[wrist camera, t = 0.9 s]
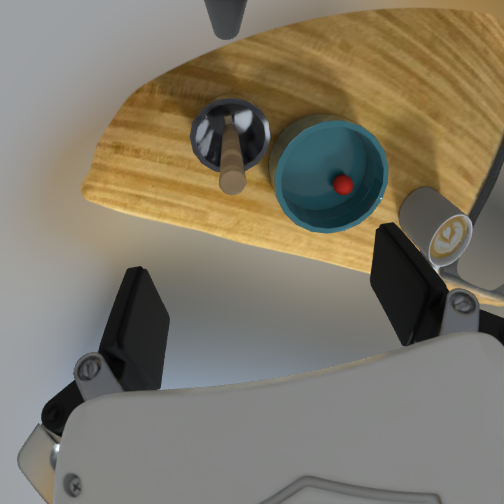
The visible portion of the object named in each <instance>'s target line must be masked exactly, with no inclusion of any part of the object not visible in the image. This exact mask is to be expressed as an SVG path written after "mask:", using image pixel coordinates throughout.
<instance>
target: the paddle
mask: <svg viewBox="0 0 504 504" xmlns="http://www.w3.org/2000/svg"><path fill="white" fill-rule="evenodd" d="M224 119H225V125H226V126H225V127H224V129H223V138H222V150H221V163H220V177H219V186H220V188H221V190H222V191H223V192H224V193H226V194H229V195H236V194H239V193H241V192H242V191H243V190H244V189H245V187H246V176H245V171H244V165H243V159H242V154H241V148H240V143H239V137H238V132H237V128H236V126H235V125H233V121H232V116H231V111H226V112H225V113H224Z"/></svg>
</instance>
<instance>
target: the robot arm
mask: <svg viewBox="0 0 504 504" xmlns="http://www.w3.org/2000/svg"><path fill="white" fill-rule="evenodd" d="M370 283H371V286H372V288H373V290H374V292H375V294H376V296H377V298H378V299H379V301H380V303H381V305H382V307H383V309H384V311H385V312H386V314H387V316H388V318H389V320H390V322H391V324H392V326H393V328H394V330H395V332H396V334H397V336H398V338H399V340H400V342H401V344H402V345H403V346H406V347H403V348H400V349H396V350H393V351H389V352H386V353H383V354H379V355H376V356H372V357H369V358H365V359H361V360H357V361H354V362H349V363H346V364H342V365H337V366H333V367H328V368H324V369H319V370H315V371H310V372H305V373H300V374H295V375H289V376H285V377H278V378H272V379H266V380H259V381H252V382H245V383H237V384H229V385H220V386H211V387H210V386H209V387H199V388H185V389H171V390H170V389H168V390H157V389H160V388H161V381H162V373H163V365H164V358H165V350H166V343H167V336H168V330H169V323H170V318H169V314H168V312H167V310H166V308H165V306H164V304H163V302H162V300H161V298H160V296H159V294H158V292H157V290H156V288H155V286H154V283H153V281H152V279H151V277H150V275H149V273H148V271H147V270H146V269H143V268H142V267H141V266H139V267H133V268H128V269H127V271H126V273H125V276H124V278H123V281H122V283H121V286H120V289H119V291H118V294H117V296H116V299H115V302H114V305H113V308H112V310H111V313H110V316H109V319H108V322H107V324H106V327H105V331H104V334H103V337H102V340H101V343H100V346H99V351H98V353H97V352H91V353H87V354H85V355H84V356H82V357H81V358H80V359H79V360H78V361H77V363H76V365H75V368H74V373H73V374H74V378H75V380H74V381H73V382H71V383H70V384H69V385H68V386H67V387H65V388H64V389H63V390H62V391H60V392H59V393H58V394H57V395H56V396H54V397H53V398H52V399H51V400H50V401H48V403H46V405H45V406H44V408H43V410H42V414H41V420H42V424H41V425H40V424H39V423H38V424H37V426H36V427H35V429H34V430H33V432H32V433H31V435H30V436H29V437H28V439H27V441H26V442H25V444H24V445H23V446H22V448H21V450H20V451H19V453H18V457H17V462H18V466H19V468H20V470H21V471H22V473H23V474H24V475H25V477H26V478H27V479H28V481H29V482H30V483H31V485H32V486H33V487H34V488H35V490H36V491H37V492H38V493H39V495H40V496H41V497H42V498H43V499H44V501H45V502H46V503H47V504H504V318H502V317H499V316H497V315H494V314H491V313H489V312H486V311H483V310H481V309H479V302H478V300H477V298H476V297H475V295H474V294H472V293H471V292H470V291H468V290H465V289H461V288H456V289H453V290H451V291H449V290H448V289H447V287H446V284H445V283H444V282H443V280H442V279H441V278H440V276H439V275H438V274H437V273H436V271H435V270H434V269H433V267H432V266H431V265H430V264H429V262H428V261H427V260H426V259H425V258H424V256H423V255H422V254H421V253H420V252H419V250H418V249H417V248H416V247H415V246H414V244H413V243H412V242H411V241H410V240H409V239H408V237H407V236H406V235H405V234H404V233H403V232H402V231H401V230H400V228H399V227H398V226H397V225H396V224H395V223H393V222H391V223H385V224H381V225H380V226H379V228H377V229H376V234H375V244H374V253H373V261H372V268H371V276H370Z"/></svg>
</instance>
